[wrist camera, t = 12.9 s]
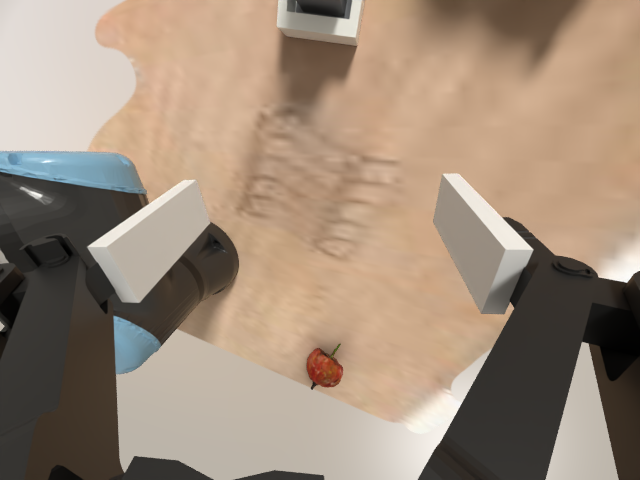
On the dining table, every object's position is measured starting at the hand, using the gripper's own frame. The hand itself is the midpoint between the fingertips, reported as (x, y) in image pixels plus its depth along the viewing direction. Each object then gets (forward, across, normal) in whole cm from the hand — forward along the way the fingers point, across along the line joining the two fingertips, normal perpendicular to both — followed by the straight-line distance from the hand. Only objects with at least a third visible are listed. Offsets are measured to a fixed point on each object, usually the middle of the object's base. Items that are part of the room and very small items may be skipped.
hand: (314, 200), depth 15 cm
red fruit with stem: (+20, -3, -43) cm, 48 cm away
